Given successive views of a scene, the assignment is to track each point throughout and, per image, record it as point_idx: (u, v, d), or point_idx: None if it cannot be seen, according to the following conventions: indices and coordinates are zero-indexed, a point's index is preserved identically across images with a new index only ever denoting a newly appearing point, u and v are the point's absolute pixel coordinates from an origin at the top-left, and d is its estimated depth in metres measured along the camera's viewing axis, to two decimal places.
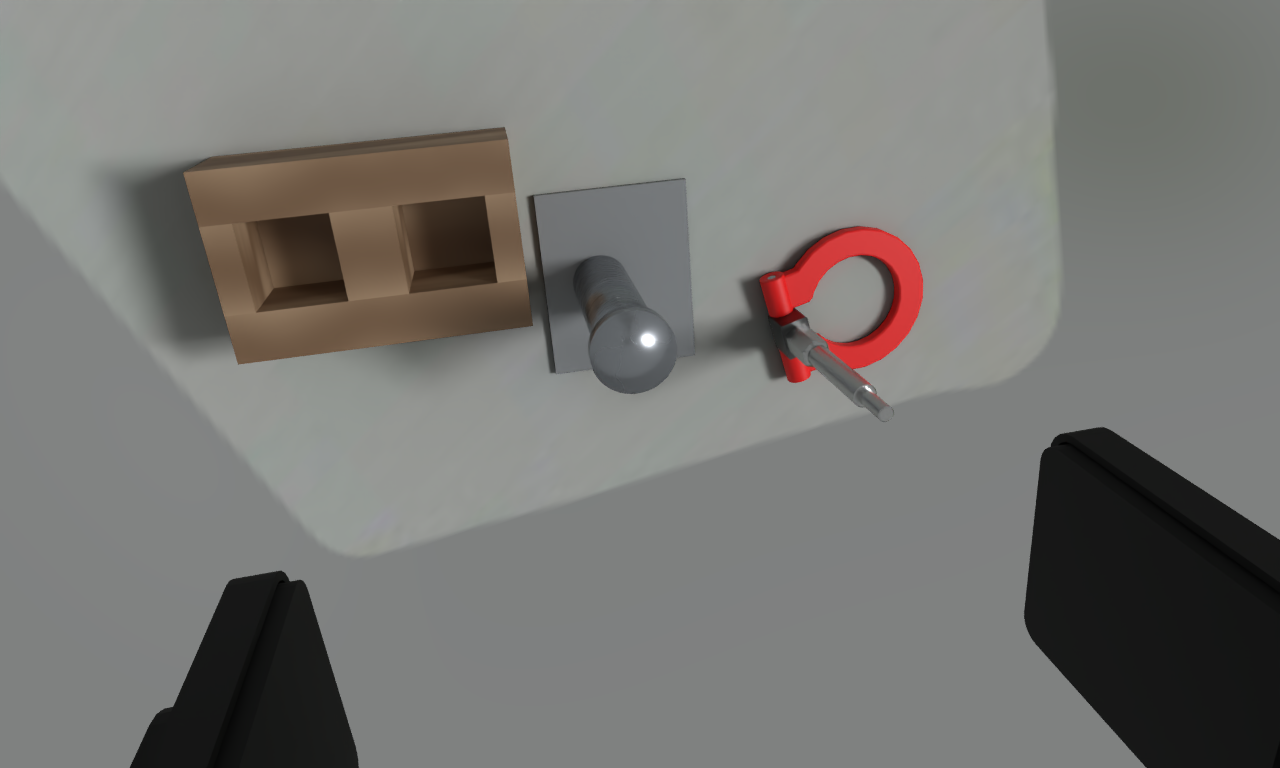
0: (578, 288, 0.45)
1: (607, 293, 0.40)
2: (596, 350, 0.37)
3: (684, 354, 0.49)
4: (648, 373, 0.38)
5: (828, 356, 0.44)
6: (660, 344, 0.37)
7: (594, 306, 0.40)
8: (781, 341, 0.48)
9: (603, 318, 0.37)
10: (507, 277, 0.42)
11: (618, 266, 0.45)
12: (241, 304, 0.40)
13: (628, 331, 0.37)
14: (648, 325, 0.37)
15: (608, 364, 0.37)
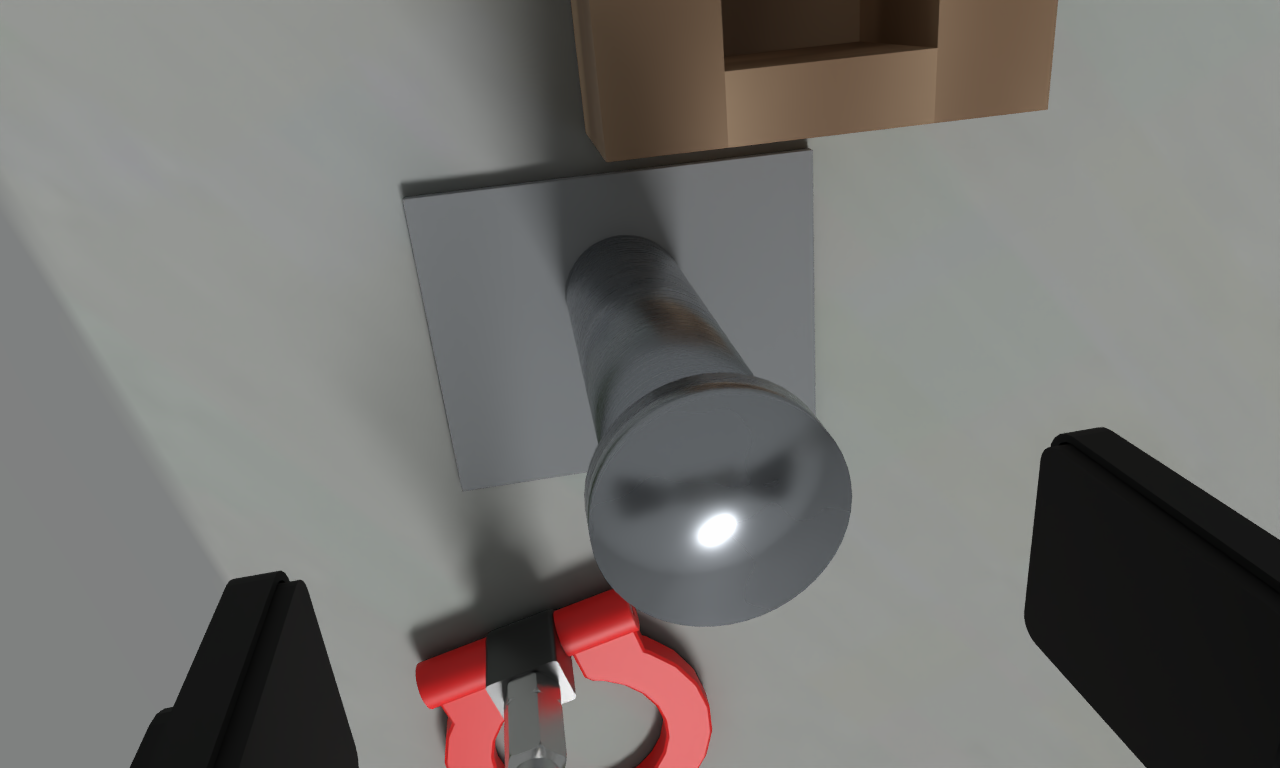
0: (652, 259, 0.20)
1: None
2: (742, 413, 0.12)
3: (462, 471, 0.23)
4: (654, 561, 0.12)
5: None
6: (742, 582, 0.13)
7: (724, 340, 0.15)
8: (517, 659, 0.24)
9: (813, 415, 0.12)
10: (736, 98, 0.16)
11: None
12: None
13: (791, 496, 0.12)
14: (804, 546, 0.13)
15: (692, 448, 0.12)
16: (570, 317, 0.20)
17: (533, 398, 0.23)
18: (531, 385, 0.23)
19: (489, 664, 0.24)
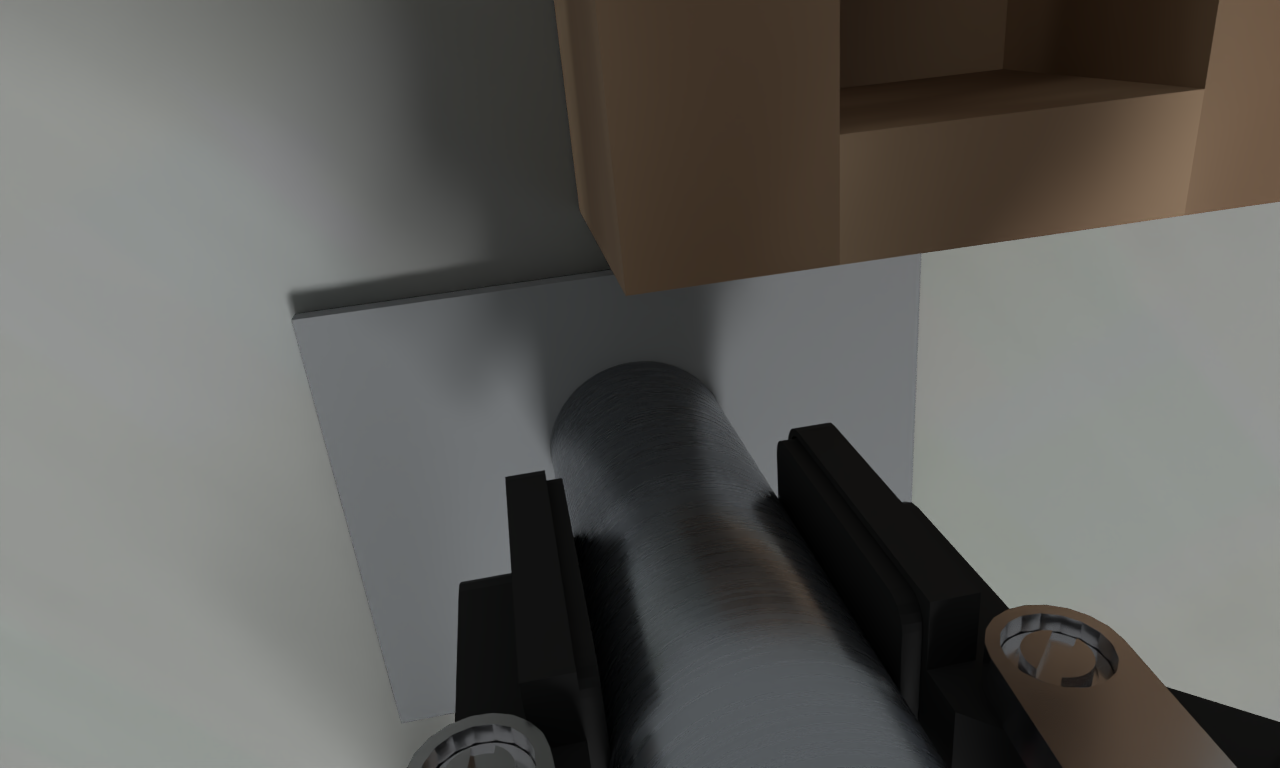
0: (691, 419, 0.12)
1: None
2: None
3: (401, 697, 0.16)
4: None
5: None
6: None
7: (859, 650, 0.08)
8: None
9: None
10: (857, 180, 0.09)
11: None
12: None
13: None
14: None
15: None
16: None
17: None
18: None
19: None
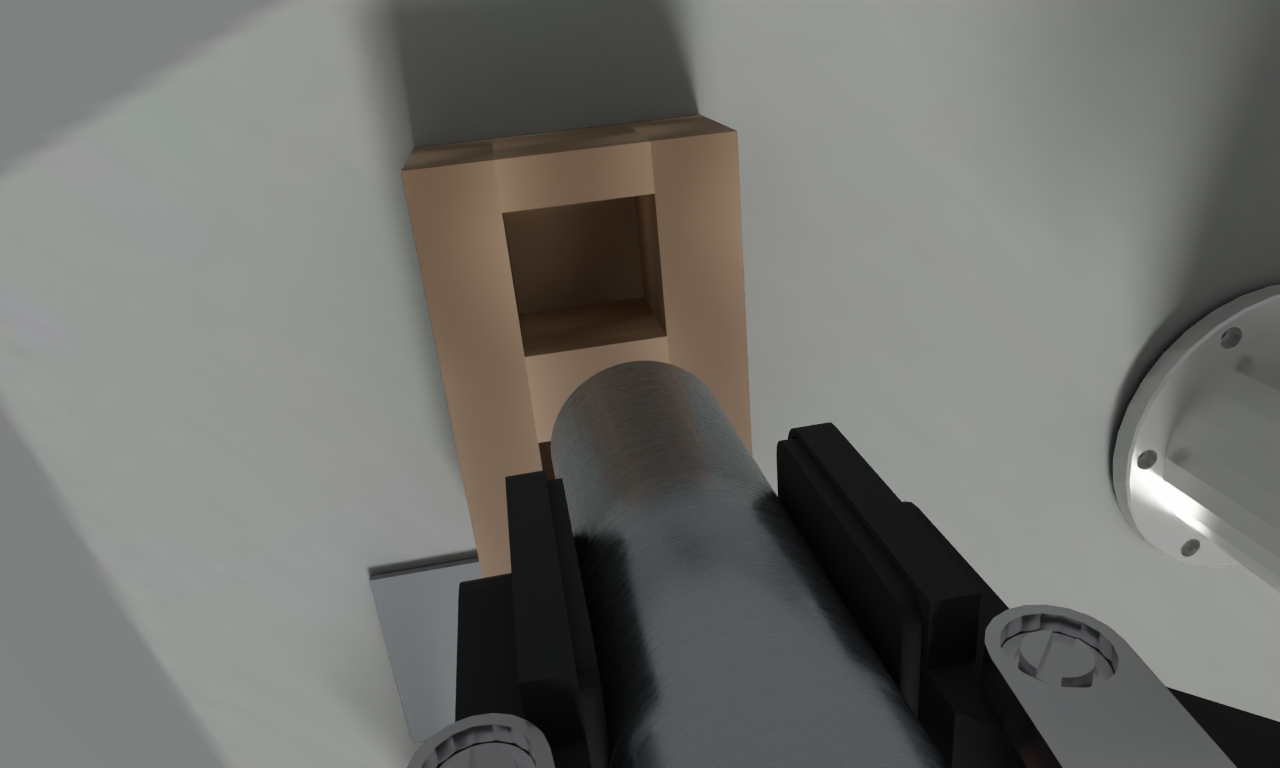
0: (691, 419, 0.12)
1: None
2: None
3: (412, 731, 0.35)
4: None
5: None
6: None
7: (859, 649, 0.08)
8: None
9: None
10: None
11: None
12: (516, 191, 0.23)
13: None
14: None
15: None
16: None
17: None
18: None
19: None
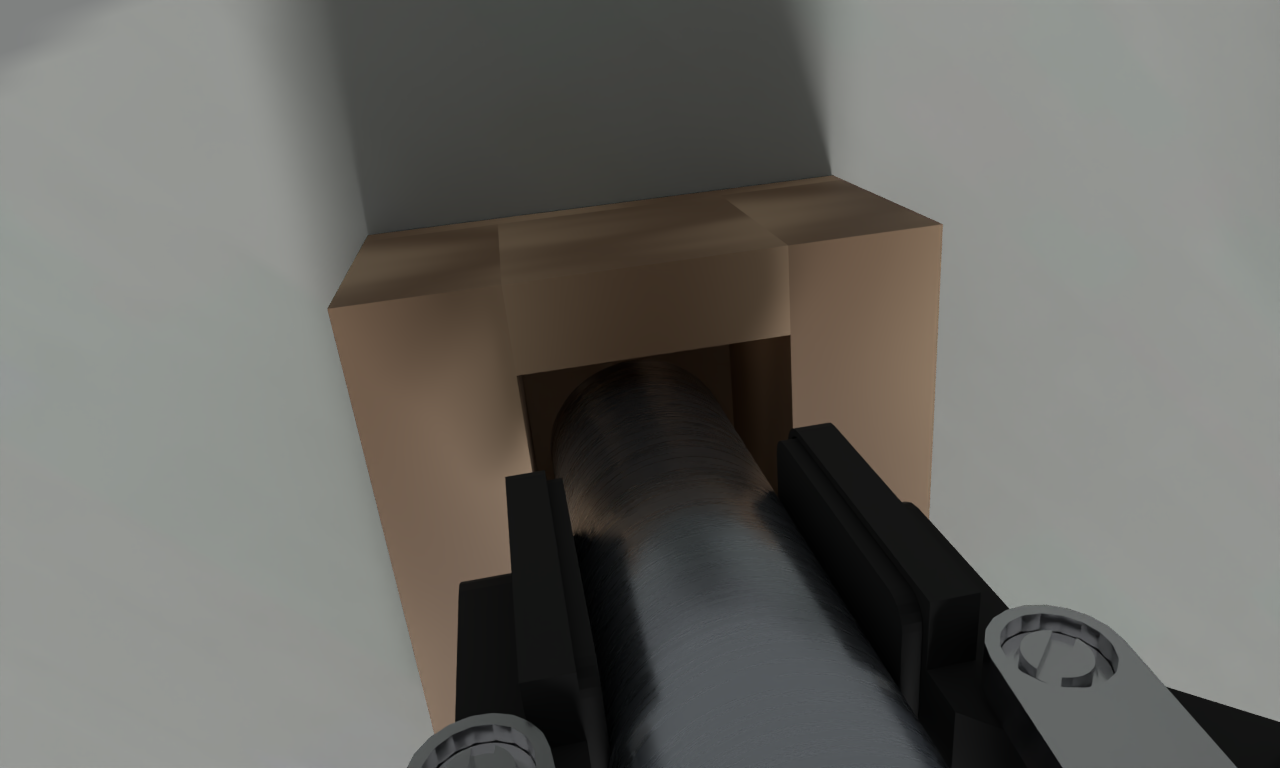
0: (690, 418, 0.12)
1: None
2: None
3: None
4: None
5: None
6: None
7: (859, 648, 0.08)
8: None
9: None
10: None
11: None
12: (543, 338, 0.13)
13: None
14: None
15: None
16: None
17: None
18: None
19: None
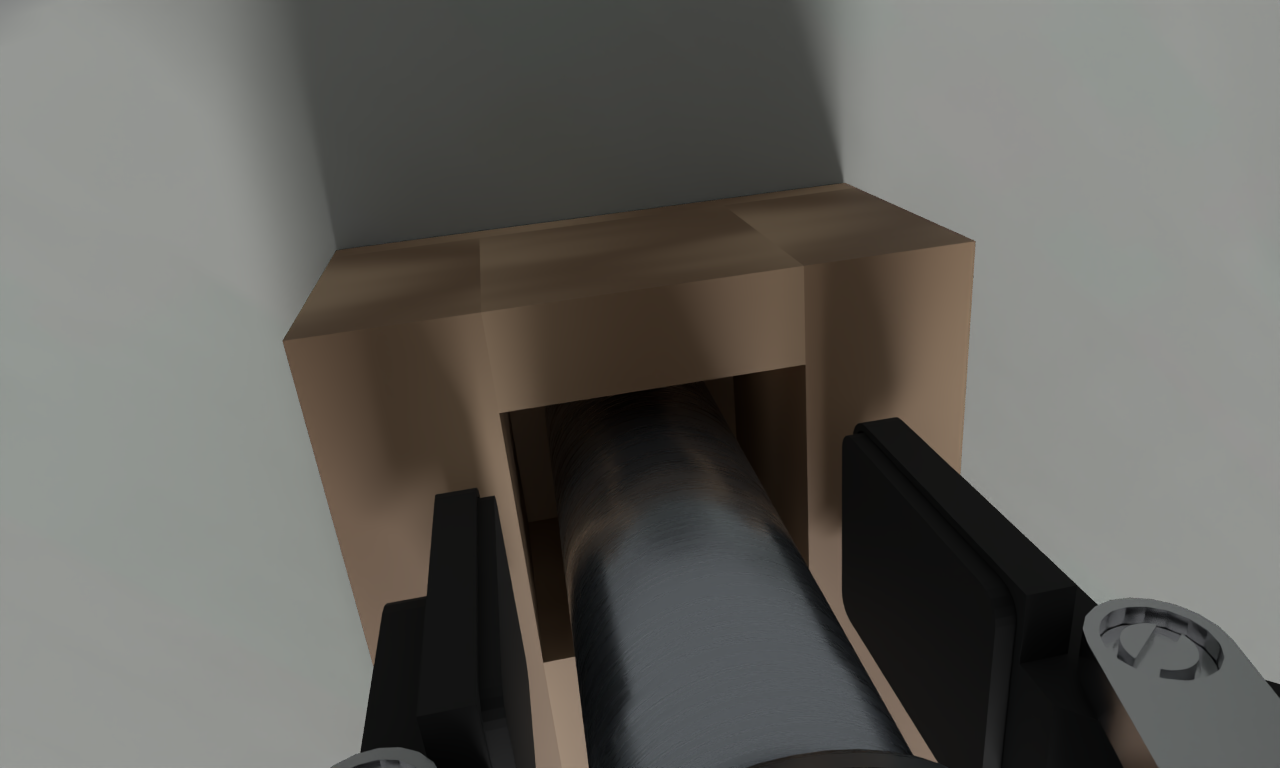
0: None
1: None
2: None
3: None
4: None
5: None
6: None
7: (795, 570, 0.09)
8: None
9: None
10: None
11: None
12: (529, 371, 0.11)
13: None
14: None
15: None
16: (550, 456, 0.14)
17: None
18: None
19: None
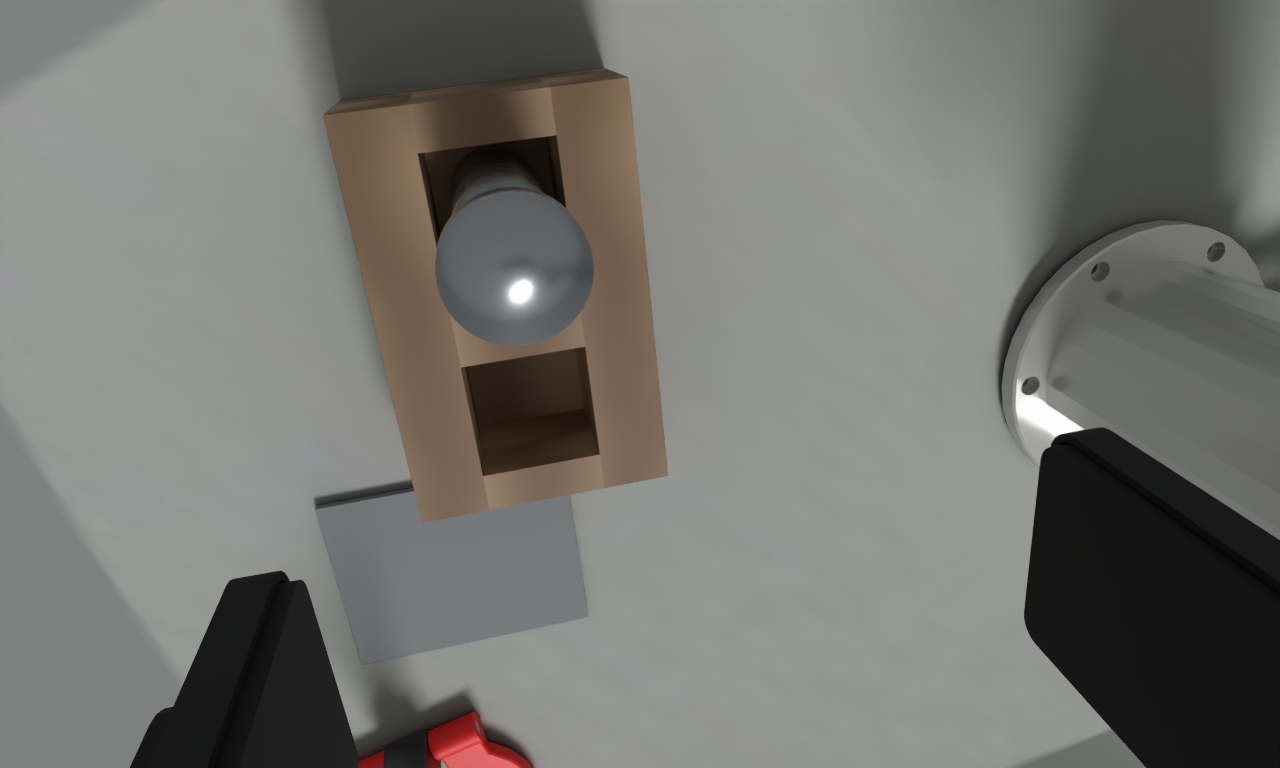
0: (505, 156, 0.28)
1: None
2: (520, 204, 0.20)
3: (361, 653, 0.37)
4: (477, 300, 0.21)
5: None
6: (532, 316, 0.21)
7: (535, 190, 0.24)
8: (402, 767, 0.38)
9: (570, 213, 0.21)
10: (491, 487, 0.31)
11: None
12: (430, 133, 0.26)
13: (556, 259, 0.21)
14: (568, 292, 0.21)
15: (492, 226, 0.20)
16: None
17: (403, 609, 0.37)
18: (402, 602, 0.37)
19: None
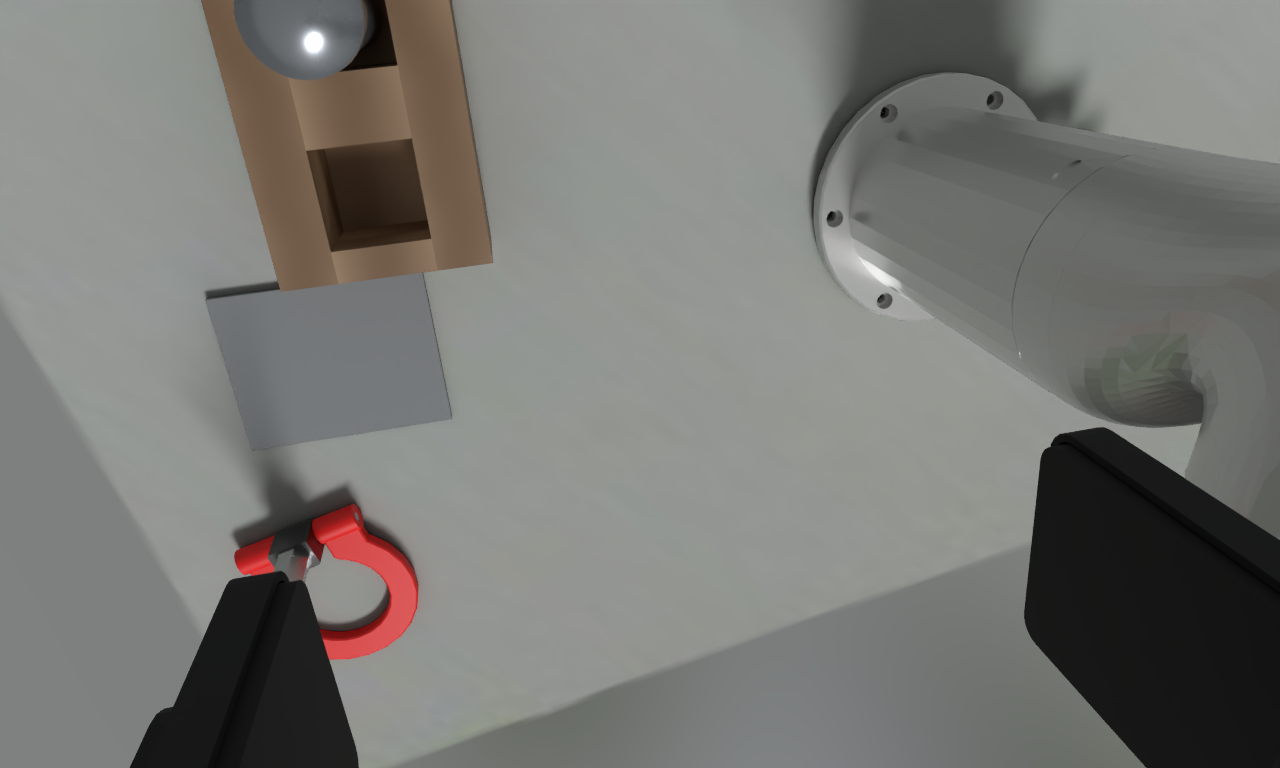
0: None
1: None
2: None
3: (251, 439, 0.43)
4: (269, 37, 0.27)
5: None
6: (316, 55, 0.27)
7: None
8: (286, 542, 0.44)
9: None
10: (338, 263, 0.37)
11: (375, 32, 0.36)
12: None
13: (331, 6, 0.27)
14: (343, 36, 0.27)
15: None
16: None
17: (286, 399, 0.43)
18: (284, 392, 0.43)
19: (272, 546, 0.44)
